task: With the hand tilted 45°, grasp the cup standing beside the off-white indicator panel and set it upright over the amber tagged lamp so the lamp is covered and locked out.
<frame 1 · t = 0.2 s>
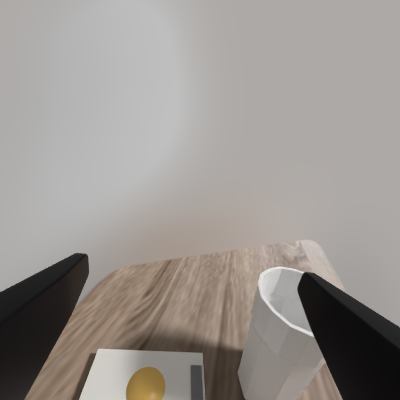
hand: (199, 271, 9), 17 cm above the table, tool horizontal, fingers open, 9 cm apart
cup: (264, 384, 20), on the table
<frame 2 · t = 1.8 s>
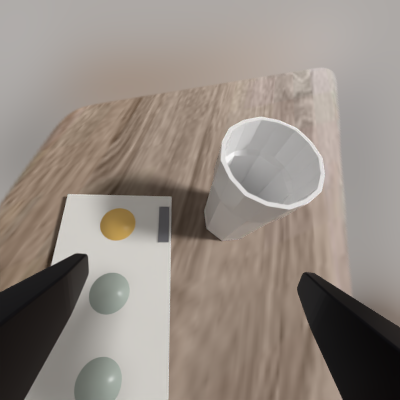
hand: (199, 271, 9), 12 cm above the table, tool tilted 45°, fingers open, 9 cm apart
cup: (226, 218, 23), on the table
indicator panel: (111, 292, 18), on the table
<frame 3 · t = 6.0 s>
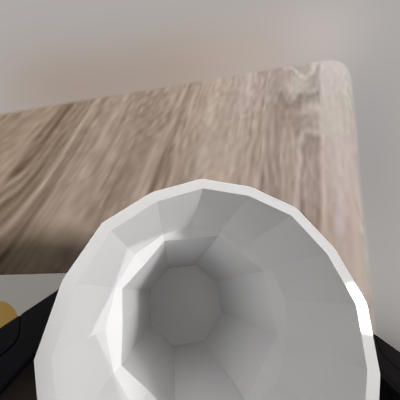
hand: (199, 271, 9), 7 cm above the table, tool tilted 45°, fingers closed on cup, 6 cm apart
cup: (184, 301, 14), on the table, touching gripper
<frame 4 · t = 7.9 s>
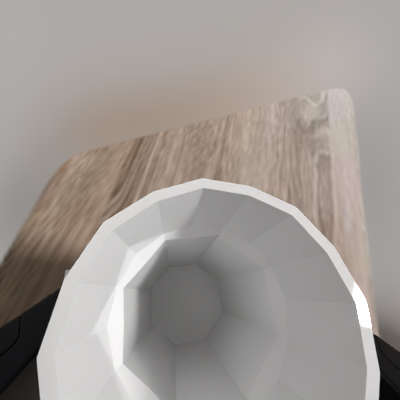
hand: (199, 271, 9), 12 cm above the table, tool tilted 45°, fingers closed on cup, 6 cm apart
cup: (185, 300, 14), point 5 cm above the table, touching gripper
when the fingers open (8 cm above the table, at t = 9.7 s): cup stays where it is, resting on indicator panel.
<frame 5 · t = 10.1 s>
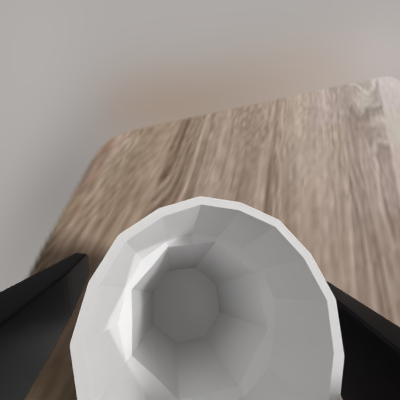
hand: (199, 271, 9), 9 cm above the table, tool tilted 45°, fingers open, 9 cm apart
cup: (185, 301, 15), point 1 cm above the table, touching indicator panel
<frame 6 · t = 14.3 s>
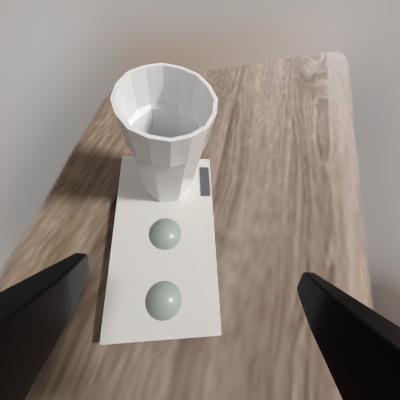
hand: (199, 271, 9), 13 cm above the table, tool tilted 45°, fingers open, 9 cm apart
cup: (167, 182, 23), point 1 cm above the table, touching indicator panel
indicator panel: (165, 235, 22), on the table
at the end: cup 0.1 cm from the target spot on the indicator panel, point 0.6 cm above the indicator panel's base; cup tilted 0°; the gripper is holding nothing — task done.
